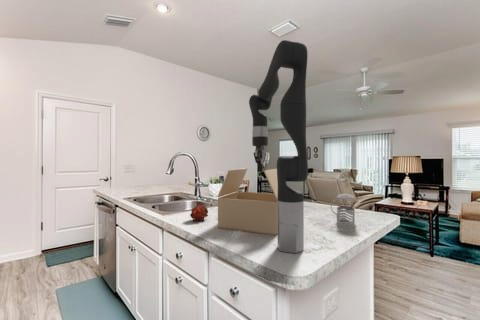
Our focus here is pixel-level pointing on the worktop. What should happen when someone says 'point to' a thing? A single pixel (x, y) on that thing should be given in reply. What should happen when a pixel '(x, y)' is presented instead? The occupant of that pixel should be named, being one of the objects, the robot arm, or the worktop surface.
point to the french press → (343, 221)
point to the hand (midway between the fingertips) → (260, 171)
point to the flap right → (272, 180)
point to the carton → (249, 212)
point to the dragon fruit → (199, 213)
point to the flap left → (232, 181)
